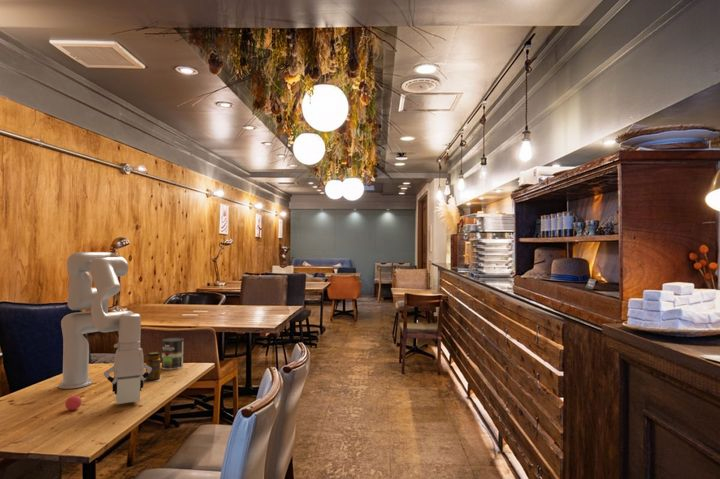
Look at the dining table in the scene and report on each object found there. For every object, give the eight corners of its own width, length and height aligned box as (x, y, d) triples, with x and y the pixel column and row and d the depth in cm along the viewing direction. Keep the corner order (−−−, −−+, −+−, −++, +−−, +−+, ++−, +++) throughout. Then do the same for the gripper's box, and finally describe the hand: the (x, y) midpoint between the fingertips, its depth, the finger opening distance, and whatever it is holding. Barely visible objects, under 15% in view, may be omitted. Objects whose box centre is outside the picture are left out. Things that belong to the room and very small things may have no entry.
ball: (65, 408, 166) (65, 395, 166) (81, 406, 168) (81, 393, 168) (64, 413, 161) (65, 399, 162) (81, 410, 164) (81, 396, 164)
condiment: (160, 376, 210) (161, 350, 210) (161, 381, 202) (162, 354, 203) (143, 378, 207) (144, 352, 207) (143, 383, 199) (144, 356, 199)
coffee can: (176, 370, 221) (176, 341, 221) (157, 369, 222) (157, 340, 223) (187, 365, 231) (187, 337, 231) (169, 364, 233) (169, 337, 233)
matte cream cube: (115, 397, 173) (116, 375, 173) (137, 394, 177) (138, 372, 177) (116, 404, 166) (117, 380, 166) (139, 400, 170) (140, 377, 170)
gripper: (103, 350, 164) (102, 398, 164) (155, 345, 173) (153, 391, 173) (103, 346, 170) (101, 392, 170) (152, 341, 179) (151, 385, 179)
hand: (127, 391), depth 171 cm, fingers closed on matte cream cube, 7 cm apart
